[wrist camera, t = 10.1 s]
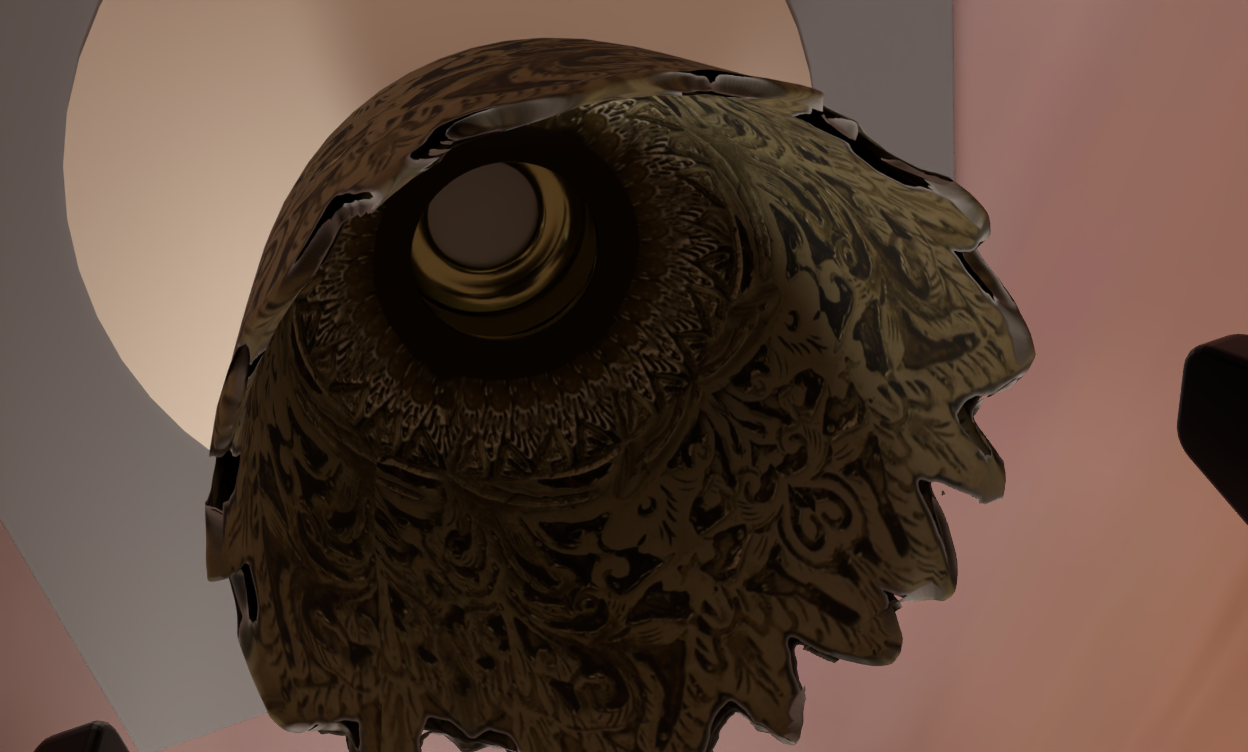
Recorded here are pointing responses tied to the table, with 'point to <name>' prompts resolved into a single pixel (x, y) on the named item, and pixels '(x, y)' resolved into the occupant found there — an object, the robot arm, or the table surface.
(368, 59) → the board
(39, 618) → the table surface
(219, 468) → the brown mottled round piece
